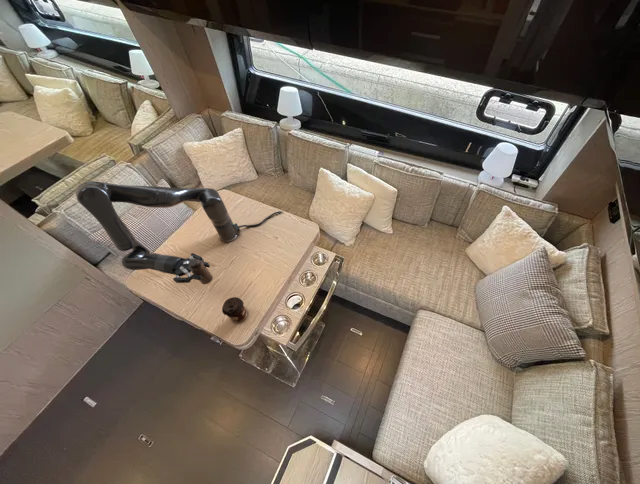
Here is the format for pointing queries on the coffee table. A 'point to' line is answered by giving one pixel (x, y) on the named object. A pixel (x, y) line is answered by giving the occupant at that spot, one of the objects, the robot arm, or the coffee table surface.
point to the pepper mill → (200, 271)
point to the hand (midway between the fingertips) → (205, 271)
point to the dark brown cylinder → (234, 309)
